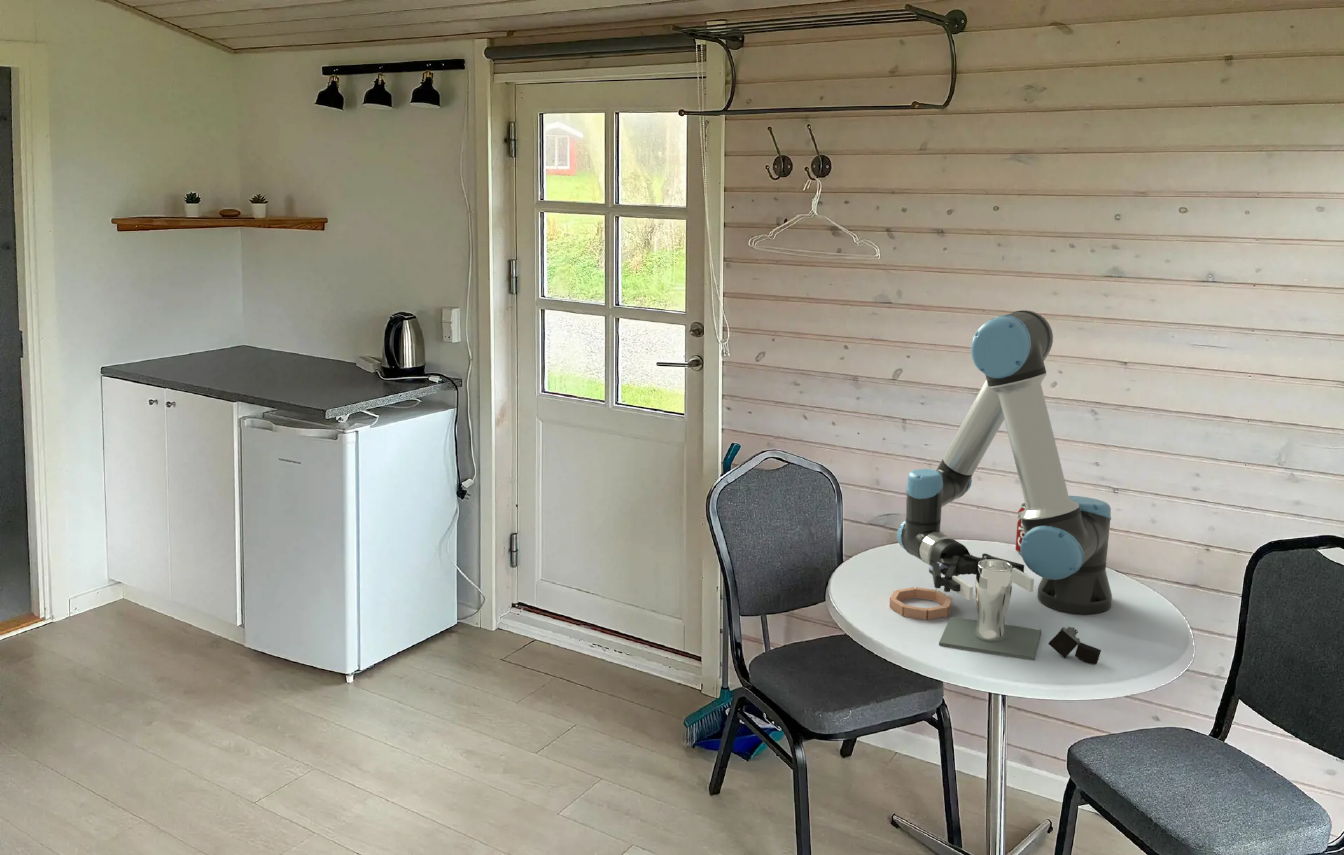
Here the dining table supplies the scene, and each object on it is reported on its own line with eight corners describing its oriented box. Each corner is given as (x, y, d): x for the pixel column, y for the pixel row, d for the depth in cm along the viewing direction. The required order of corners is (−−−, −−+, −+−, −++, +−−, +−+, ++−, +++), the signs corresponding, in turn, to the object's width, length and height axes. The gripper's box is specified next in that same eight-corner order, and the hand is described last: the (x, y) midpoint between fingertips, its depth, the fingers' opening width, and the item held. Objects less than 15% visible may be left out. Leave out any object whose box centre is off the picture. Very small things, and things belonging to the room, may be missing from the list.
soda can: (1047, 551, 279) (1051, 504, 276) (1040, 559, 273) (1043, 511, 270) (1019, 546, 282) (1023, 500, 279) (1011, 554, 277) (1015, 507, 274)
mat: (1040, 632, 232) (1041, 629, 232) (1033, 660, 219) (1034, 657, 219) (950, 619, 239) (950, 616, 239) (938, 645, 226) (939, 642, 226)
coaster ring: (954, 601, 248) (955, 592, 248) (945, 622, 237) (945, 613, 237) (897, 593, 253) (898, 584, 252) (885, 613, 242) (885, 604, 241)
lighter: (1087, 671, 221) (1106, 652, 218) (1084, 675, 219) (1103, 656, 216) (1050, 639, 223) (1068, 620, 221) (1047, 643, 222) (1065, 624, 219)
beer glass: (1009, 644, 225) (1014, 572, 222) (973, 641, 226) (977, 569, 223) (1007, 630, 232) (1011, 560, 228) (971, 627, 233) (975, 557, 229)
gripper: (995, 565, 248) (1055, 599, 228) (891, 578, 241) (944, 615, 221) (997, 531, 246) (1057, 564, 226) (893, 544, 239) (946, 578, 219)
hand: (1002, 589), depth 224 cm, fingers open, 13 cm apart
